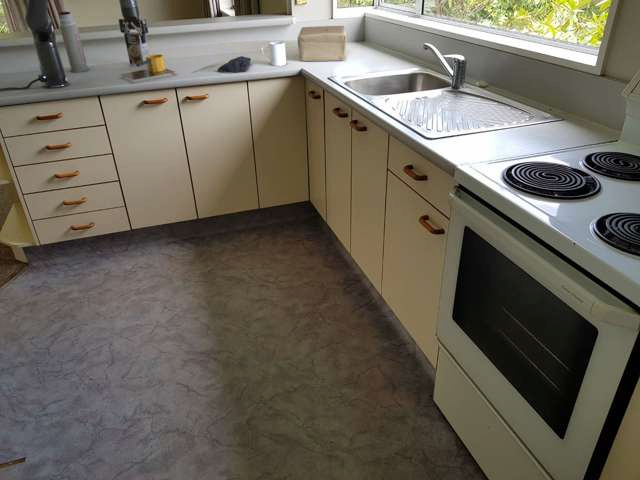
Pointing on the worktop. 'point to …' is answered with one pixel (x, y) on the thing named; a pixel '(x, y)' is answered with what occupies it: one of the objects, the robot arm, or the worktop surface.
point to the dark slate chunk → (236, 65)
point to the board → (145, 74)
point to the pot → (154, 63)
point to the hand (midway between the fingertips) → (136, 42)
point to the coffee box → (136, 49)
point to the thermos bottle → (72, 43)
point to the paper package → (322, 43)
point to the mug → (276, 53)
